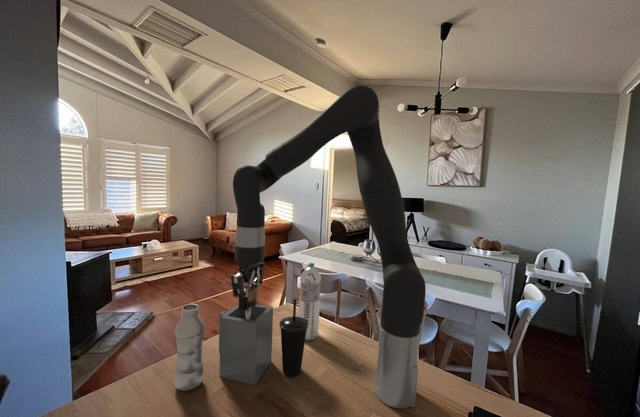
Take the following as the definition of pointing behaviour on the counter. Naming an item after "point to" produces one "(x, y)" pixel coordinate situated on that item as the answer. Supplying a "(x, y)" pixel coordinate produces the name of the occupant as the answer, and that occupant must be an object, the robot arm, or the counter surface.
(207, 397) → the counter surface
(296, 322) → the drinking cup
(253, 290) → the plunger
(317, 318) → the water bottle
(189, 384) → the plastic bottle
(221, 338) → the box
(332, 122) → the robot arm
